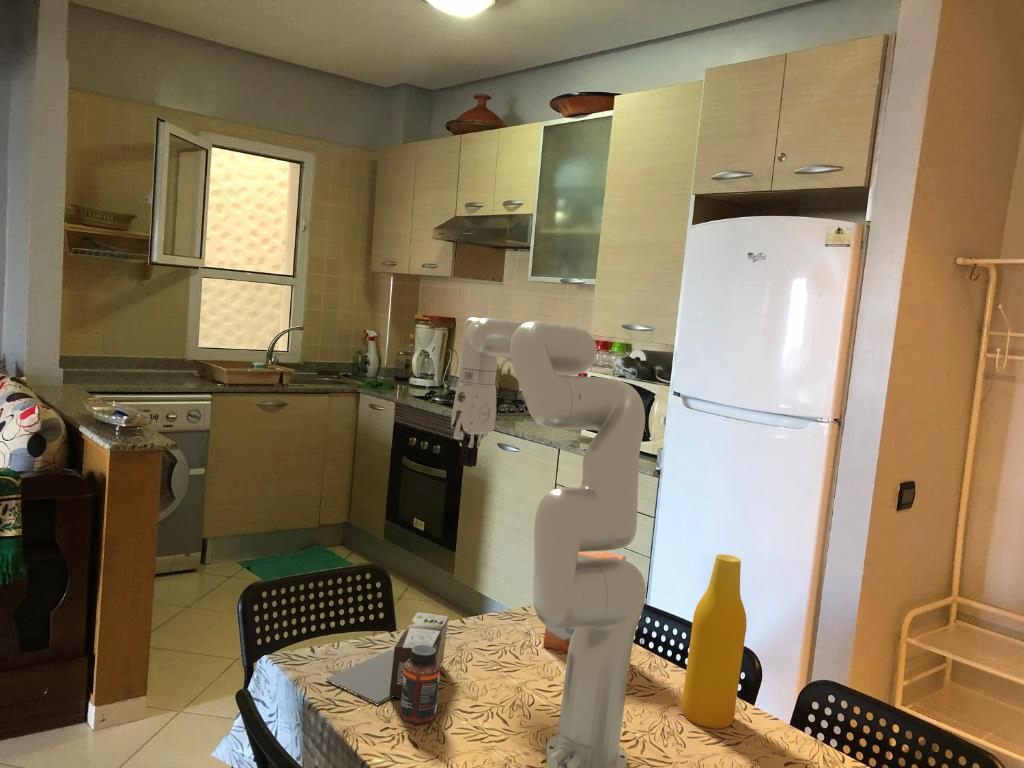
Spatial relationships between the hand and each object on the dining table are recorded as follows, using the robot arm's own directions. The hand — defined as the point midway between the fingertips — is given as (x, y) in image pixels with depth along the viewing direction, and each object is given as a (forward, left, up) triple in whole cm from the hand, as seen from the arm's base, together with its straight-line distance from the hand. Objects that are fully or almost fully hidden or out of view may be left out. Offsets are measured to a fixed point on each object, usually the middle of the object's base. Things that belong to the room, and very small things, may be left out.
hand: (467, 465), depth 164 cm
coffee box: (-16, -7, -30) cm, 35 cm away
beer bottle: (+3, -55, -35) cm, 65 cm away
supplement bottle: (-33, -18, -35) cm, 52 cm away
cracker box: (+11, -25, -35) cm, 45 cm away
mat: (-27, -5, -35) cm, 44 cm away
